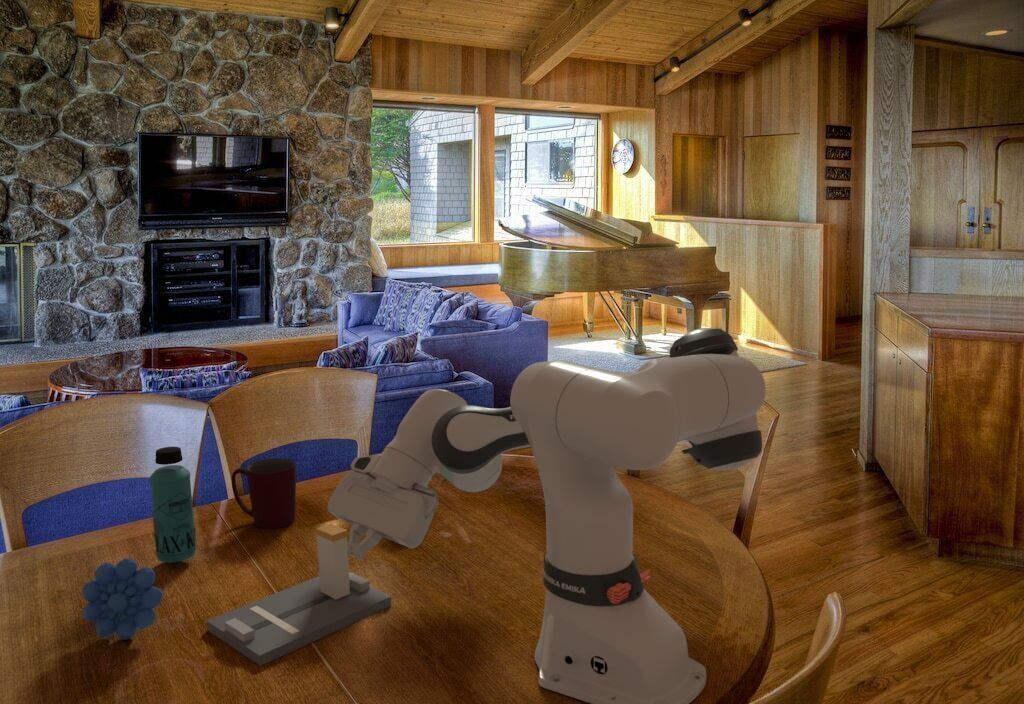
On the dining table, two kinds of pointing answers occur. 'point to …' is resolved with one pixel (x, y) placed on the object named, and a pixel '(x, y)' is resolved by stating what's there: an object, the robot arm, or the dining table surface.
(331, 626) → the board
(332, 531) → the fader tab
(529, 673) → the dining table surface
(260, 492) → the mug
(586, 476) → the robot arm
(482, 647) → the dining table surface
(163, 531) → the beverage bottle
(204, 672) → the dining table surface
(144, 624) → the blue flower
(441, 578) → the dining table surface
